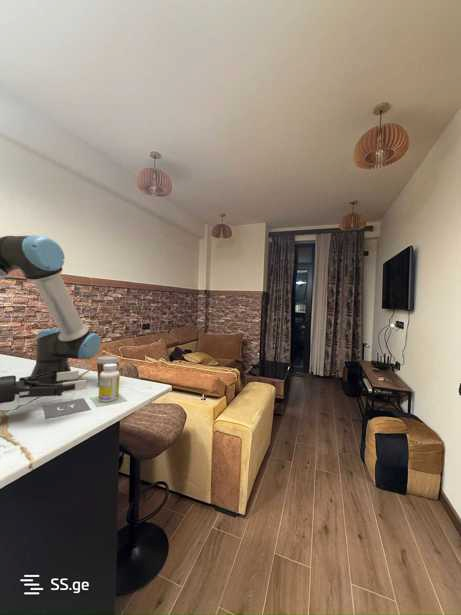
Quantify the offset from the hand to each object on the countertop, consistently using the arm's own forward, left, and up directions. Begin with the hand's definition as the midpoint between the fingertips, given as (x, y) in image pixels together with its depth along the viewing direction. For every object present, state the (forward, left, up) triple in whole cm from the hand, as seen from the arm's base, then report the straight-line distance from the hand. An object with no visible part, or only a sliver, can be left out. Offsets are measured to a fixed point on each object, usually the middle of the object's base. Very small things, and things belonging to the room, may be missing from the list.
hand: (82, 378), depth 83 cm
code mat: (0, -4, -9) cm, 10 cm away
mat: (0, +9, -9) cm, 13 cm away
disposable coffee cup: (-18, +13, -9) cm, 24 cm away
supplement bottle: (0, +9, -9) cm, 13 cm away
